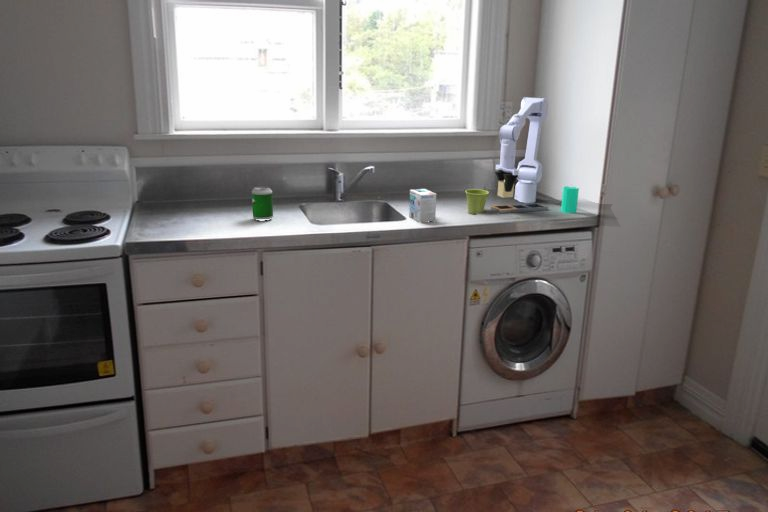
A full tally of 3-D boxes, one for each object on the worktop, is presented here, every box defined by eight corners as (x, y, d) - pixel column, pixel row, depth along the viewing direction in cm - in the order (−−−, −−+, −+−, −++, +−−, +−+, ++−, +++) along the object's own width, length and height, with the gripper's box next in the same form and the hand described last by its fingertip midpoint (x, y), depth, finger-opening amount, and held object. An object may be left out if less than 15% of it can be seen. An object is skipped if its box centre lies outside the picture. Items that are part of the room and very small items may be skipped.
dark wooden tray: (490, 211, 267) (491, 205, 266) (537, 208, 274) (538, 202, 273) (499, 215, 260) (499, 209, 260) (547, 211, 268) (547, 206, 267)
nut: (497, 195, 264) (498, 179, 262) (507, 194, 266) (508, 179, 264) (503, 197, 260) (504, 181, 258) (513, 197, 262) (514, 181, 260)
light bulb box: (408, 216, 256) (409, 189, 253) (424, 215, 259) (425, 188, 256) (419, 223, 247) (420, 194, 244) (436, 221, 249) (437, 193, 246)
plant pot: (490, 211, 266) (491, 190, 264) (483, 216, 258) (485, 194, 256) (468, 209, 270) (469, 188, 268) (460, 214, 262) (461, 192, 259)
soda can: (276, 218, 250) (275, 187, 247) (267, 222, 244) (266, 190, 240) (259, 216, 253) (258, 185, 249) (249, 220, 246) (247, 189, 242)
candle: (576, 215, 262) (579, 185, 259) (561, 214, 264) (564, 184, 260) (575, 212, 268) (578, 182, 265) (560, 211, 269) (563, 182, 266)
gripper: (489, 153, 264) (487, 187, 267) (508, 159, 250) (505, 194, 254) (505, 153, 266) (503, 186, 270) (524, 158, 253) (521, 193, 257)
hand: (505, 190), depth 262 cm, fingers closed on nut, 4 cm apart
